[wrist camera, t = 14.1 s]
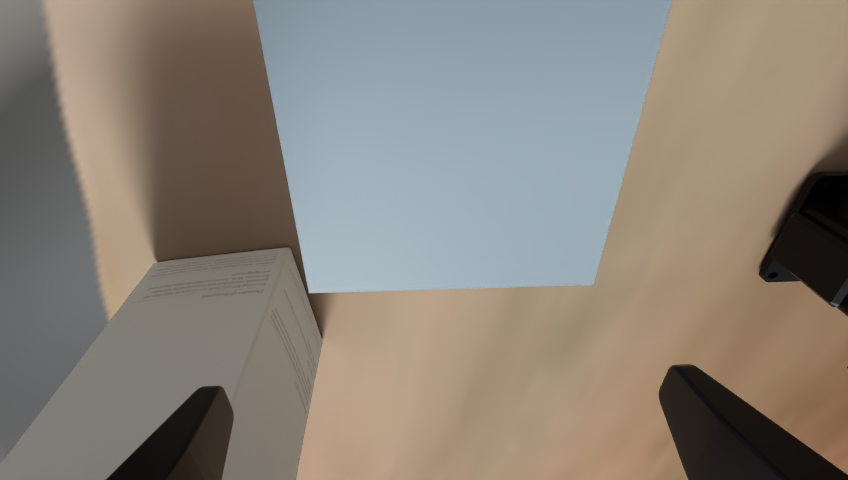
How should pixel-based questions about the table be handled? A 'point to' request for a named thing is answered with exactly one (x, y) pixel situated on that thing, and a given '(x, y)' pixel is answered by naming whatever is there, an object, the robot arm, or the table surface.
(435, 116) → the blue brick
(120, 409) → the supplement box
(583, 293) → the table surface
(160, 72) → the table surface
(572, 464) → the table surface
